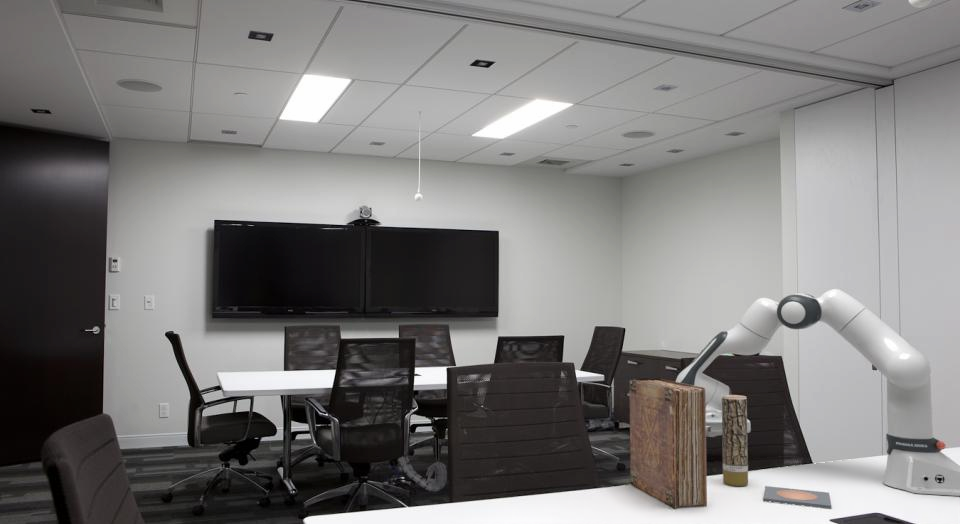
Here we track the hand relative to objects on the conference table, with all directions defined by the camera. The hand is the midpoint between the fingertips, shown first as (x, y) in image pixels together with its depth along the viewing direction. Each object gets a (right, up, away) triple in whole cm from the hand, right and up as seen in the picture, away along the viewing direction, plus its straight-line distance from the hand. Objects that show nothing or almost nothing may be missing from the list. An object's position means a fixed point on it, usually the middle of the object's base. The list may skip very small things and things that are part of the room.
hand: (724, 429), depth 211 cm
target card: (+11, -12, -25) cm, 30 cm away
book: (-24, -12, -23) cm, 35 cm away
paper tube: (0, -13, -11) cm, 17 cm away
